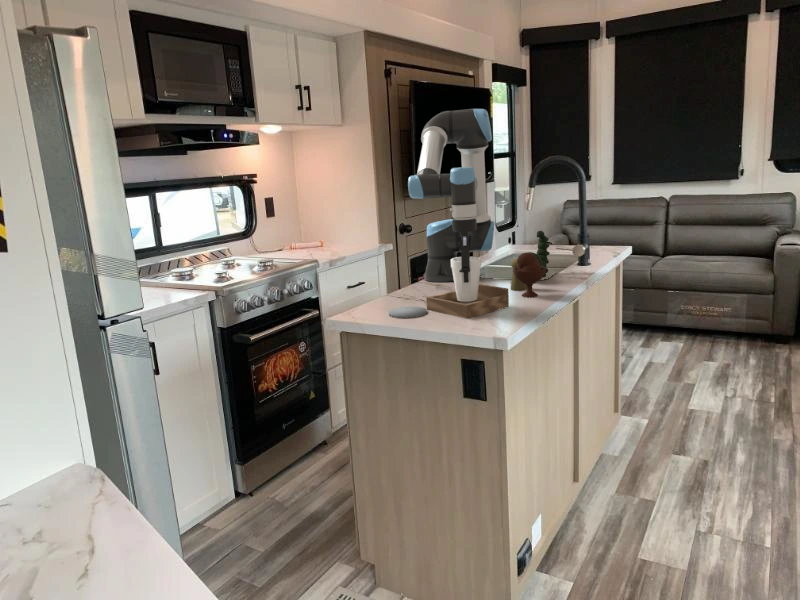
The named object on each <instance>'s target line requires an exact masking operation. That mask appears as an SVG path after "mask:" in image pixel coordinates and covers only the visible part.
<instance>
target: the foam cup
mask: <svg viewBox="0 0 800 600" xmlns="http://www.w3.org/2000/svg"><path fill="white" fill-rule="evenodd" d="M469 260H470V275H471V292H470V293H462V272H459V270H461V268H462V263H461V256H457V257H456V258H452V259H451V267H452V272H453V278H454V281H453V282H454V289H455V291H456V295H457V300H458V301H463V302H474V300H477V297H478V287H479V284H480V275H481V267H482V258H481V257H479V256H470V257H469Z"/></svg>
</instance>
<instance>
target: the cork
mask: <svg viewBox="0 0 800 600" xmlns="http://www.w3.org/2000/svg"><path fill="white" fill-rule="evenodd" d="M517 259H518V258H514V259H512V260H511V262H510V266H511V268H512V269H513V268H515V267H517ZM510 281H511V282H510V289H511V290H510V291H512V292H526V291H527V285H526V284H524V283H522V282H521V281H519V280H518V279H517V278H516V277H515V275H514V273H513V270H512V273H511V279H510Z"/></svg>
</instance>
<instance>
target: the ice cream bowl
mask: <svg viewBox="0 0 800 600" xmlns="http://www.w3.org/2000/svg"><path fill="white" fill-rule="evenodd" d="M516 259H517V267H515V268H512V271H513V273H514V275H515V277H516V278H517V279H518V280H519V281H521V282H522V283H524V284H526V285H527V290H525V291H524V292H523V293H522V294H521V297H522V298H526V297H527V298H529V297H530V298H532V297H533V298H537V297H539V294H538V293H536V292H535V291H533V285H534V284H536V283H538V282H539V281H541V280H542V279H543V278H544V277H543V276H544V275H545V273H546V268H547V267H546V268H545V267H543V266H540V262H539V261H538V259H536V257H535V256H534V255H533V254H531V253H527V252H523V253H521V254H519V255H518V257H517V258H516ZM546 274H547V273H546ZM530 298H529V299H530Z"/></svg>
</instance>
